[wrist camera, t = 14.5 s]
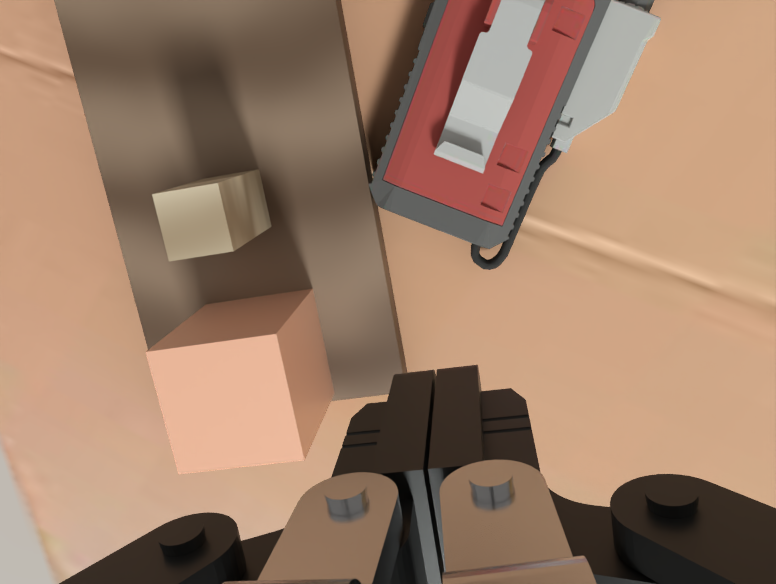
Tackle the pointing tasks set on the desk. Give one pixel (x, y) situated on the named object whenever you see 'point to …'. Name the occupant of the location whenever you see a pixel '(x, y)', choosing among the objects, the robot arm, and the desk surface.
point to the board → (238, 166)
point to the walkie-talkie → (502, 108)
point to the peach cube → (243, 382)
